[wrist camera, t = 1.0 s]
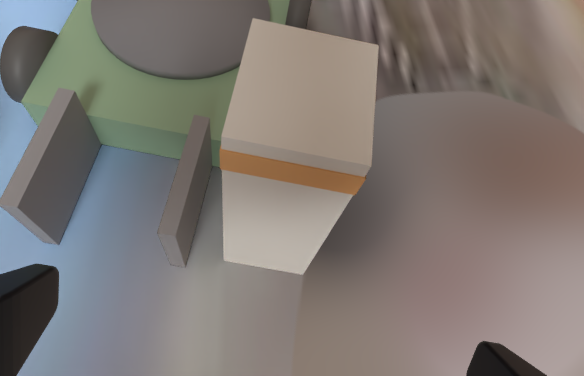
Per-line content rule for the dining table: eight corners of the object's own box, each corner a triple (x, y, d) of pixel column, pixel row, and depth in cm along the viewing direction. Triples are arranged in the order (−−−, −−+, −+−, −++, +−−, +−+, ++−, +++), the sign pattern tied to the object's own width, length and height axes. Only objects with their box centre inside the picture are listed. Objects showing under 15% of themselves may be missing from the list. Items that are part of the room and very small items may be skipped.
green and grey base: (259, 280, 23) (267, 253, 18) (-36, 228, 22) (-102, 185, 17) (307, 13, 33) (319, -46, 28) (105, -31, 32) (86, -100, 27)
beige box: (303, 275, 23) (372, 167, 12) (222, 261, 23) (219, 137, 12) (313, 195, 26) (380, 44, 15) (240, 181, 25) (251, 16, 14)
